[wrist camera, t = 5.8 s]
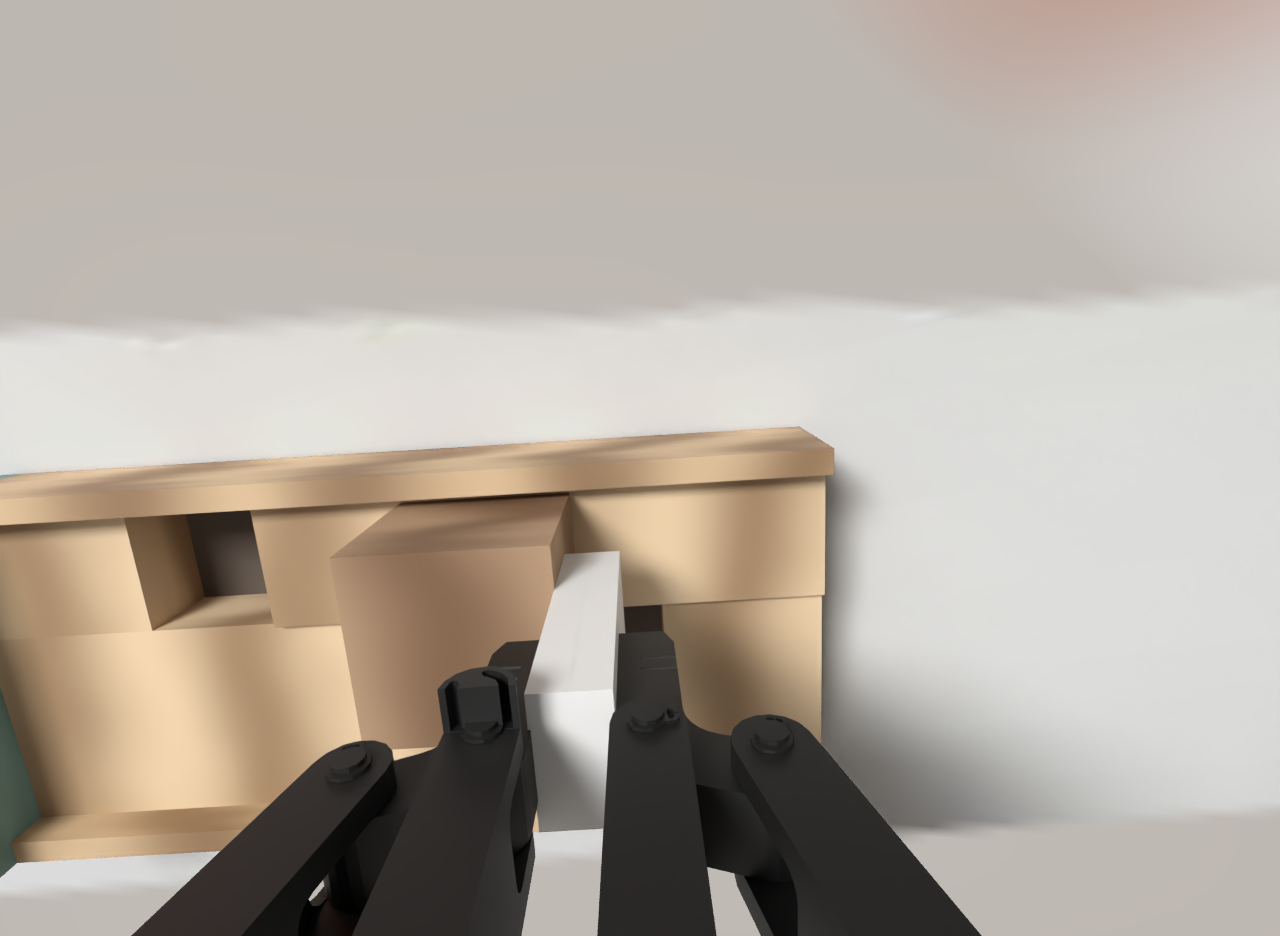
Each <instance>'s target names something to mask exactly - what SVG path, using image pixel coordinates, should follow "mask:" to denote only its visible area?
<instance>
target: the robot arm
mask: <svg viewBox="0 0 1280 936" xmlns="http://www.w3.org/2000/svg"><path fill="white" fill-rule="evenodd" d="M437 691H438V698H439V705H440V712H441V719H442V726H443V735H442V737H441V739H440V742H439V744H438V746H437V747H436V748H434V749H432V750H429V751H426V752H423V753H420V754H416V755H413V756H409V757H405V758H402V759H398V760H394V758H393V752H392V750H391V749H390V747H389V746H388V745H387V744H385V743H382V742H379V741H375V740H370V741H357V742H353V743H348V744H345V745H342V746H340V747H338V748H336V749H334V750H332V751H330V752H327V753H326V754H325V755H323V756H322V757H321V758H319V759H318V760H317V761H315V762H314V763H313V764H312V765H311V766H310V767H309V768H308V769H307V770H306V771H304V772H303V773H302V774H301V775H300V776H299V777H298V778H297V779H296V780H295V781H294V782H293V783H292V784H291V785H290V786H289V787H288V788H287V789H285V790H284V791H283V792H282V793H281V794H280V795H279V796H278V797H277V798H276V799H275V800H274V801H273V802H272V803H271V804H270V805H269V806H268V807H267V808H265V809H264V810H263V811H262V812H261V813H260V814H259V815H258V816H257V817H256V818H255V819H254V820H253V821H252V822H251V823H250V824H249V825H248V826H247V827H245V828H244V829H243V830H242V831H241V832H240V833H239V834H238V835H237V836H236V837H235V838H234V839H233V840H232V841H231V842H230V843H229V844H228V845H227V846H225V847H224V848H223V849H222V850H221V851H220V852H219V853H218V854H217V855H216V856H215V857H214V858H213V859H212V860H211V861H210V862H209V863H208V864H206V865H205V866H204V867H203V868H202V869H201V870H200V871H199V872H198V873H197V874H196V875H195V876H194V877H193V878H192V879H191V880H190V881H189V882H188V883H186V884H185V885H184V886H183V887H182V888H181V889H180V890H179V891H178V892H177V893H176V894H175V895H174V896H173V897H172V898H171V899H170V900H169V901H168V902H166V903H165V904H164V905H163V906H162V907H161V908H160V909H159V910H158V911H157V912H156V913H155V914H154V915H153V916H152V917H151V918H150V919H149V920H148V921H146V922H145V923H144V924H143V925H142V926H141V927H140V928H139V929H138V930H137V931H136V932H135V933H134V934H133V935H132V936H521V934H522V928H523V923H524V917H525V911H526V906H527V900H528V894H529V889H530V883H531V877H532V871H533V866H534V860H535V848H534V838H533V826H534V821H535V816H536V810H537V817H538V826H539V832H552V831H568V830H585V829H602V828H604V829H603V847H602V864H601V865H602V866H601V883H600V900H599V919H598V935H597V936H716V929H715V922H714V915H713V907H712V900H711V893H710V886H709V878H708V871H707V867H710V868H714V869H718V870H723V871H727V872H731V873H734V874H735V878H736V882H737V886H738V888H739V891H740V893H741V895H742V897H743V899H744V901H745V903H746V905H747V907H748V909H749V912H750V914H751V916H752V918H753V920H754V922H755V924H756V926H757V928H758V930H759V933H760V935H761V936H981V935H980V933H979V932H978V931H977V930H976V929H975V928H974V926H973V925H972V924H971V923H970V922H969V920H968V919H967V918H966V917H965V916H964V914H963V913H962V912H961V911H960V910H959V908H958V907H957V906H956V905H955V904H954V902H953V901H952V900H951V899H950V898H949V896H948V895H947V894H946V893H945V892H944V890H943V889H942V888H941V887H940V886H939V885H938V883H937V882H936V881H935V880H934V879H933V877H932V876H931V875H930V874H929V873H928V871H927V870H926V869H925V868H924V867H923V865H922V864H921V863H920V862H919V861H918V860H917V858H916V857H915V856H914V855H913V854H912V852H911V851H910V850H909V849H908V848H907V846H906V845H905V844H904V843H903V842H902V840H901V839H900V838H899V837H898V836H897V835H896V833H895V832H894V831H893V830H892V829H891V827H890V826H889V825H888V824H887V823H886V821H885V820H884V819H883V818H882V817H881V815H880V814H879V813H878V812H877V811H876V810H875V808H874V807H873V806H872V805H871V804H870V802H869V801H868V800H867V799H866V798H865V796H864V795H863V794H862V793H861V792H860V790H859V789H858V788H857V787H856V786H855V785H854V783H853V782H852V781H851V780H850V779H849V777H848V776H847V775H846V774H845V773H844V771H843V770H842V769H841V768H840V767H839V765H838V764H837V763H836V762H835V761H834V760H833V758H832V757H831V756H830V755H829V754H828V752H827V751H826V750H825V749H824V748H823V746H822V745H821V744H820V743H819V742H818V740H817V739H816V738H815V737H814V736H813V735H812V733H811V732H810V731H809V730H808V729H807V728H805V727H804V726H803V725H802V724H800V723H799V722H797V721H795V720H792V719H790V718H787V717H785V716H778V715H771V714H767V715H755V716H752V717H749V718H747V719H744V720H742V721H741V722H740V723H738V724H737V725H736V726H735V727H734V728H733V731H732V734H731V736H730V735H724V734H718V733H714V732H710V731H707V730H705V729H702V728H700V727H698V726H696V725H695V724H694V723H692V722H691V721H690V720H689V719H688V718H687V716H686V715H685V713H684V710H683V705H682V698H681V691H680V683H679V676H678V668H677V661H676V653H675V646H674V641H673V640H672V639H671V638H670V637H669V636H668V635H667V634H666V633H665V632H664V631H653V632H636V633H625V622H624V608H623V593H622V578H621V564H620V551H609V552H592V553H575V554H565V555H564V558H563V562H562V565H561V569H560V572H559V575H558V579H557V582H556V585H555V589H554V592H553V595H552V598H551V602H550V605H549V609H548V612H547V616H546V619H545V623H544V626H543V630H542V633H541V637H540V640H530V641H513V642H506V643H505V644H504V645H502V646H501V647H500V648H499V649H498V650H497V651H496V652H494V653H493V654H492V656H491V659H490V661H489V664H488V666H487V667H479V668H472V669H468V670H466V671H463V672H460V673H457V674H455V675H454V676H452V677H450V678H449V679H447V680H446V681H444V682H443V684H442V685H441V686H440V687H439V688H438V689H437ZM322 880H323V882H324V887H323V888H322V890H321V891H320V892H319V893H318V895H317V896H316V897H315V898H313V899H312V900H311V901H309V900H308V899H309V898H310V896H311V894H312V893H313V891H314V890H315V889H316V888H317V886H318V885H319V884H320V883H321V882H322Z"/></svg>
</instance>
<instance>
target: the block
mask: <svg viewBox="0 0 1280 936" xmlns="http://www.w3.org/2000/svg"><path fill="white" fill-rule="evenodd" d="M565 554H575V552H574V540H573V528H572V516H571V505H570V493H562V494H545V495H528V496H511V497H493V498H476V499H459V500H442V501H424V502H407V503H400V504H398V505H397V506H396V507H394V508H393V509H392V510H391V511H389V512H388V513H387V514H385V515H384V516H383V517H382V518H380V519H379V520H378V521H376V522H375V523H374V524H373V525H371V526H370V527H369V528H367V529H366V530H365V531H364V532H362V533H361V534H360V535H358V536H357V537H356V538H355V539H353V540H352V541H351V542H349V543H348V544H347V545H345V546H344V547H343V548H342V549H340V550H339V551H338V552H336V553H335V554H334V555H333V556H331V557H330V558H329V560H330V566H331V571H332V577H333V583H334V588H335V594H336V599H337V605H338V611H339V616H340V622H341V628H342V633H343V639H344V645H345V650H346V656H347V661H348V667H349V673H350V678H351V684H352V690H353V695H354V701H355V707H356V712H357V718H358V723H359V729H360V735H361V740H362V741H370V740H375V741H379V742H382V743H385V744H387V745H388V746H389V747H390V749H391V750H394V749H411V748H429V747H437V746H438V744H439V742H440V739H441V737H442V735H443V726H442V719H441V712H440V705H439V698H438V691H437V689H438V688H439V687H440V686H441V685H442V684H443V682H444V681H446V680H447V679H449V678H450V677H452V676H454V675H455V674H457V673H460V672H463V671H466V670H468V669H472V668H479V667H487V666H488V664H489V661H490V659H491V656H492V654H493V653H494V652H496V651H497V650H498V649H499V648H500V647H501V646H502V645H504V644H505V643H506V642H513V641H530V640H540V637H541V633H542V630H543V626H544V623H545V619H546V616H547V612H548V609H549V605H550V602H551V598H552V595H553V592H554V589H555V585H556V582H557V579H558V575H559V572H560V569H561V565H562V562H563V558H564V555H565Z"/></svg>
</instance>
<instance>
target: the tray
mask: <svg viewBox="0 0 1280 936" xmlns="http://www.w3.org/2000/svg"><path fill="white" fill-rule="evenodd" d="M826 475H834V448H832V447H831V446H829V445H828V444H826V443H824V442H823V441H821V440H820V439H818V438H817V437H815V436H813V435H812V434H810V433H809V432H807V431H805V430H804V429H802V428H801V427H787V428H770V429H754V430H737V431H721V432H705V433H688V434H672V435H655V436H639V437H622V438H606V439H589V440H573V441H556V442H540V443H524V444H507V445H491V446H474V447H458V448H441V449H425V450H408V451H392V452H375V453H359V454H343V455H326V456H310V457H293V458H277V459H260V460H244V461H227V462H211V463H194V464H178V465H162V466H145V467H129V468H112V469H96V470H79V471H63V472H46V473H30V474H13V475H1V476H0V877H1V876H3V875H4V874H5V873H6V872H7V871H8V870H9V869H11V868H12V867H13V866H14V865H15V864H16V863H23V862H40V861H57V860H74V859H91V858H107V857H124V856H141V855H158V854H175V853H192V852H209V851H221V850H222V849H223V848H224V847H225V846H227V845H228V844H229V843H230V842H231V841H232V840H233V839H234V838H235V837H236V836H237V835H238V834H239V833H240V832H241V831H242V830H243V829H244V828H245V827H247V826H248V825H249V824H250V823H251V822H252V821H253V820H254V819H255V818H256V817H257V816H258V815H259V814H260V813H261V812H262V811H263V810H264V809H265V808H267V807H268V806H269V805H270V804H271V803H272V802H273V801H274V800H275V799H276V798H277V797H278V796H279V795H280V794H281V793H282V792H283V791H284V790H285V789H287V788H288V787H289V786H290V785H291V784H292V783H293V782H294V781H295V780H296V779H297V778H298V777H299V776H300V775H301V774H302V773H303V772H304V771H306V770H307V769H308V768H309V767H310V766H311V765H312V764H313V763H314V762H315V761H317V760H318V759H319V758H321V757H322V756H323V755H325V754H326V753H327V752H330V751H332V750H334V749H336V748H338V747H340V746H342V745H345V744H348V743H353V742H357V741H362V740H361V735H360V729H359V723H358V718H357V712H356V707H355V701H354V695H353V690H352V684H351V678H350V673H349V667H348V661H347V656H346V650H345V645H344V639H343V633H342V628H341V622H340V616H339V611H338V605H337V599H336V594H335V588H334V583H333V577H332V571H331V566H330V560H329V558H330V557H331V556H333V555H334V554H335V553H336V552H338V551H339V550H340V549H342V548H343V547H344V546H345V545H347V544H348V543H349V542H351V541H352V540H353V539H355V538H356V537H357V536H358V535H360V534H361V533H362V532H364V531H365V530H366V529H367V528H369V527H370V526H371V525H373V524H374V523H375V522H376V521H378V520H379V519H380V518H382V517H383V516H384V515H385V514H387V513H388V512H389V511H391V510H392V509H393V508H394V507H396V506H397V505H398V504H400V503H407V502H424V501H442V500H459V499H476V498H493V497H511V496H528V495H545V494H562V493H570V505H571V516H572V528H573V540H574V552H575V553H592V552H609V551H620V564H621V578H622V593H623V608H624V622H625V633H636V632H653V631H664V632H665V633H666V634H667V635H668V636H669V637H670V638H671V639H672V640H673V641H674V646H675V653H676V661H677V668H678V676H679V683H680V691H681V698H682V705H683V710H684V713H685V715H686V716H687V718H688V719H689V720H690V721H691V722H692V723H694V724H695V725H696V726H698V727H700V728H702V729H705V730H707V731H710V732H714V733H718V734H724V735H730V736H731V734H732V731H733V728H734V727H735V726H736V725H737V724H738V723H740V722H741V721H742V720H744V719H747V718H749V717H752V716H755V715H767V714H771V715H778V716H785V717H787V718H790V719H792V720H795V721H797V722H799V723H800V724H802V725H803V726H804V727H805V728H807V729H808V730H809V731H810V732H811V733H812V735H813V736H814V737H815V738H816V739H817V740H818V742H819V743H820V744H821V682H822V595H825V480H826ZM434 748H436V747H429V748H411V749H394V750H392V752H393V758H394V760H398V759H402V758H405V757H409V756H413V755H416V754H420V753H423V752H426V751H429V750H432V749H434ZM533 832H539V826H538V817H537V810H536V816H535V821H534V826H533Z"/></svg>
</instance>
